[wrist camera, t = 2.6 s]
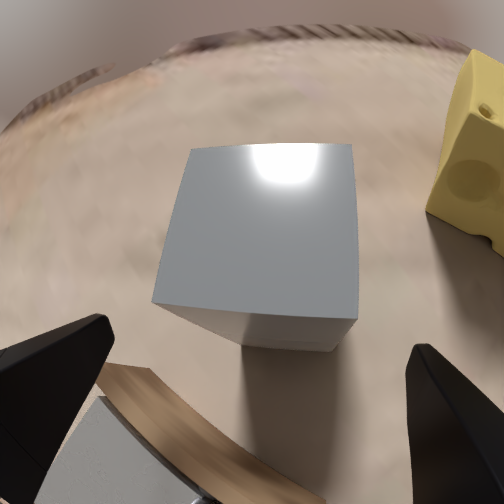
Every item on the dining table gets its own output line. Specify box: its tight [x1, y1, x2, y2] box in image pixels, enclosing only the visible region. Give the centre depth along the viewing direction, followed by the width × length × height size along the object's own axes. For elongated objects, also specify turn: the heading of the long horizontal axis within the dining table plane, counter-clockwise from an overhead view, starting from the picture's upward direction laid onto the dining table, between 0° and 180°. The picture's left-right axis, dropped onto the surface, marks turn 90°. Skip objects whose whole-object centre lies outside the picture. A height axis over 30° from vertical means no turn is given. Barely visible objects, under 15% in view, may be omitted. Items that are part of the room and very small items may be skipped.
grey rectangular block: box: [152, 143, 359, 352], centre depth 13 cm, size 6×6×11 cm
